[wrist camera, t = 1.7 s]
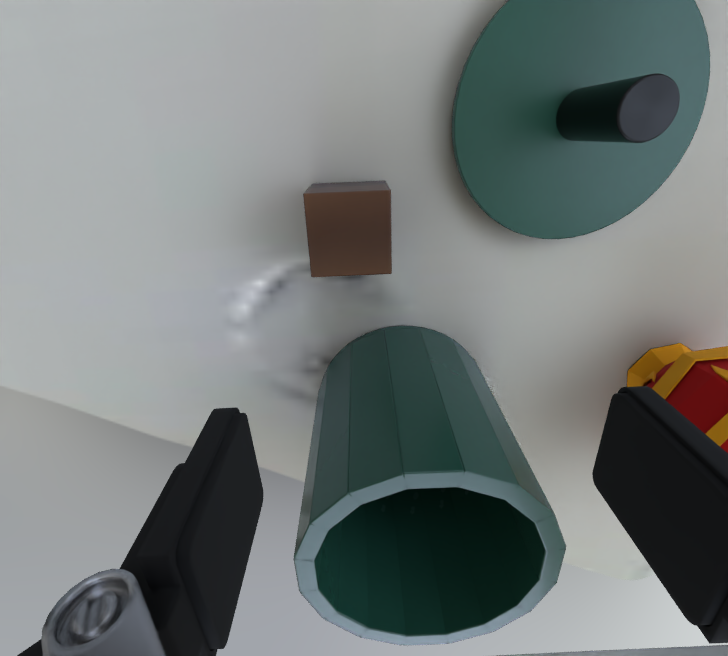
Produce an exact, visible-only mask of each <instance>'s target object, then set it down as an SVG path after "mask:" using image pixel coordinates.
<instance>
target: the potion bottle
mask: <svg viewBox="0 0 728 656" xmlns="http://www.w3.org/2000/svg"><path fill="white" fill-rule="evenodd" d="M636 386H648V387H650V388H652V389H653V390H654V391H655V392H656V393H658V394H659V395H660V396H661V397H662V398H664V399H665V400H666V401H667V402H668V403H669V404H671V405H672V406H673V407H674V408H675V409H676V410H678V411H679V412H680V413H681V414H682V415H683V416H685V417H686V418H687V419H688V420H689V421H691V422H692V423H693V424H694V425H695V426H696V427H698V428H699V429H700V430H701V431H702V432H703V433H705V434H706V435H707V436H708V437H709V438H710V439H712V440H713V441H714V442H715V443H716V444H717V445H719V446H720V447H721V448H722V449H723V450H725V451H726V452H727V453H728V346H726V347H719V348H713V349H706V350H699V351H692V350H690V349H689V348H687V347H686V346H684V345H683V344H681V343H678V344H674V345H669V346H664V347H659V348H654V349H650V350H649V351H648V352H647V353H646V354H645V355H644V356H643V357H642V358H641V359H640V360H638V361H637V362H636V363H635V364H634V365H633V366H632V367H631V368H630V369H629V370H628V375H627V387H636Z"/></svg>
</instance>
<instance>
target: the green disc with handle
mask: <svg viewBox="0 0 728 656" xmlns="http://www.w3.org/2000/svg"><path fill="white" fill-rule="evenodd" d="M709 76H710V51H709V44H708V36H707V32H706V29H705V25H704V21H703V18H702V16H701V13H700V11H699V9H698V7H697V5H696V3H695V1H694V0H508V1H507V2H506V3H505V4H504V5H503V6H502V7H501V8H500V9H499V10H498V11H497V13H496V14H495V15H494V16H493V18H492V19H491V20H490V22H489V23H488V24H487V26H486V27H485V28H484V30H483V31H482V33H481V35H480V36H479V38H478V40H477V41H476V43H475V44H474V46H473V48H472V50H471V52H470V55H469V57H468V59H467V61H466V63H465V65H464V68H463V71H462V74H461V77H460V80H459V83H458V87H457V91H456V96H455V100H454V107H453V116H452V141H453V148H454V155H455V159H456V163H457V167H458V170H459V173H460V175H461V178H462V180H463V183H464V185H465V187H466V188H467V190H468V192H469V193H470V195H471V197H472V198H473V199H474V201H475V202H476V203H477V204H478V206H479V207H480V208H481V209H482V210H483V211H484V212H485V213H486V214H487V215H488V216H489V217H491V218H492V219H494V220H495V221H496V222H498V223H499V224H501V225H502V226H504V227H506V228H508V229H510V230H512V231H514V232H517V233H520V234H523V235H526V236H529V237H536V238H542V239H562V238H572V237H576V236H580V235H585V234H588V233H591V232H594V231H597V230H599V229H602V228H604V227H606V226H608V225H610V224H612V223H614V222H616V221H618V220H620V219H621V218H623V217H624V216H626V215H628V214H629V213H631V212H632V211H633V210H635V209H636V208H637V207H638V206H640V205H641V204H642V203H644V202H645V201H646V200H647V199H648V198H649V197H650V196H651V195H652V194H653V193H654V192H655V191H656V190H657V189H658V188H659V187H660V186H661V185H662V184H663V183H664V181H665V180H666V179H667V178H668V177H669V175H670V174H671V173H672V171H673V170H674V169H675V167H676V166H677V164H678V163H679V162H680V160H681V158H682V157H683V155H684V153H685V151H686V150H687V148H688V146H689V144H690V142H691V140H692V138H693V136H694V134H695V131H696V129H697V127H698V124H699V121H700V118H701V115H702V112H703V109H704V105H705V101H706V96H707V92H708V84H709Z"/></svg>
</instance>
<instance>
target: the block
mask: <svg viewBox="0 0 728 656" xmlns="http://www.w3.org/2000/svg"><path fill="white" fill-rule="evenodd" d="M303 196H304V207H305V217H306V227H307V237H308V247H309V257H310V267H311V276H312V277H326V276H350V275H374V274H391V273H392V264H391V190H390V188H389V187H388V185H387V183H386V181H366V182H342V183H318V184H312V185H311V186H310V187H309V188H308V189H307V190H306V191H305V193H304V194H303Z"/></svg>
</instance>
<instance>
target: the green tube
mask: <svg viewBox="0 0 728 656" xmlns="http://www.w3.org/2000/svg"><path fill="white" fill-rule="evenodd" d="M565 550H566V544H565V542H564V539H563V536H562V533H561V531H560V528H559V525H558V522H557V519H556V517H555V514H554V512H553V510H552V508H551V506H550V504H549V502H548V500H547V498H546V496H545V495H544V493H543V491H542V489H541V487H540V485H539V483H538V481H537V479H536V477H535V475H534V473H533V471H532V469H531V468H530V466H529V464H528V462H527V460H526V458H525V456H524V454H523V452H522V450H521V448H520V446H519V444H518V442H517V441H516V439H515V437H514V435H513V433H512V431H511V429H510V427H509V425H508V423H507V421H506V419H505V417H504V416H503V414H502V412H501V410H500V408H499V406H498V404H497V402H496V400H495V398H494V396H493V394H492V392H491V390H490V389H489V387H488V385H487V383H486V381H485V379H484V377H483V375H482V373H481V371H480V369H479V367H478V365H477V363H476V362H475V360H474V359H473V358H472V357H471V356H470V355H469V353H468V352H467V351H466V350H465V349H464V348H463V347H462V346H461V345H460V344H458V343H457V342H456V341H455V340H453V339H451V338H450V337H448V336H446V335H444V334H442V333H440V332H437V331H435V330H431V329H427V328H423V327H416V326H393V327H387V328H382V329H378V330H375V331H372V332H369V333H367V334H365V335H363V336H361V337H359V338H357V339H355V340H354V341H352V342H351V343H349V344H348V345H347V346H345V347H344V348H343V349H342V350H341V351H340V352H339V353H338V354H337V355H336V356H335V357H334V359H333V360H332V362H331V363H330V365H329V366H328V368H327V370H326V372H325V374H324V377H323V380H322V384H321V387H320V389H319V392H318V399H317V406H316V412H315V419H314V426H313V432H312V439H311V446H310V452H309V459H308V466H307V473H306V479H305V486H304V493H303V499H302V506H301V513H300V519H299V526H298V533H297V539H296V547H295V553H294V564H295V569H296V575H297V581H298V586H299V591H300V593H301V594H302V595H303V596H304V598H305V599H306V600H307V601H308V602H309V603H310V604H311V606H312V607H313V608H314V609H315V610H316V611H317V613H318V614H319V615H320V616H321V617H322V618H324V619H325V620H327V621H329V622H331V623H332V624H335V625H336V626H338V627H341V628H342V629H344V630H346V631H349V632H350V633H352V634H354V635H356V636H359V637H361V638H366V639H371V640H377V641H381V642H387V643H392V644H397V645H426V644H427V645H429V644H448V643H453V642H457V641H461V640H464V639H468V638H472V637H476V636H480V635H483V634H487V633H491V632H494V631H496V630H498V629H500V628H501V627H503V626H505V625H507V624H509V623H510V622H512V621H514V620H516V619H518V618H519V617H521V616H523V615H525V614H527V613H528V612H530V611H531V610H532V609H533V608H534V607H535V606H536V605H537V604H538V603H539V601H541V600H542V598H543V597H544V596H545V595H546V594H547V593H548V592H549V591H550V590H551V588H552V587H553V586H554V585H555V584H556V583H557V580H558V576H559V572H560V569H561V565H562V561H563V558H564V554H565Z"/></svg>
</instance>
